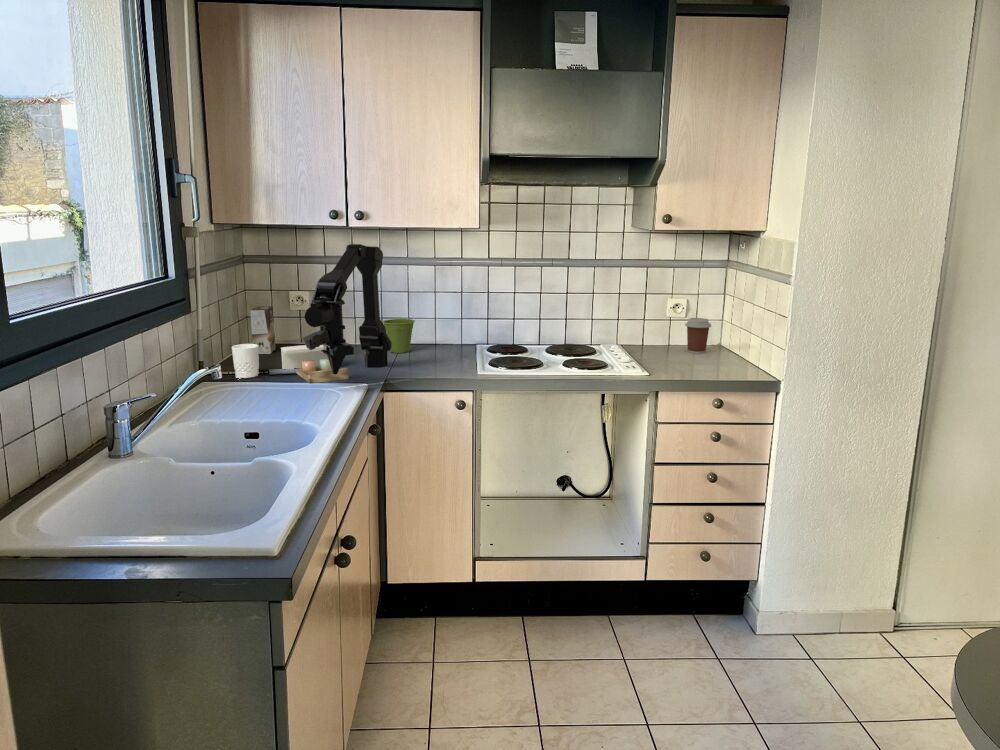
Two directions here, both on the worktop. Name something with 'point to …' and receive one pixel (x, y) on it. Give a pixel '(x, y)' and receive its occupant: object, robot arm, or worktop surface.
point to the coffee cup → (697, 334)
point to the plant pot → (399, 334)
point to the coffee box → (263, 329)
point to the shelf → (300, 356)
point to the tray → (324, 375)
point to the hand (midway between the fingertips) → (335, 374)
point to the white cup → (246, 360)
